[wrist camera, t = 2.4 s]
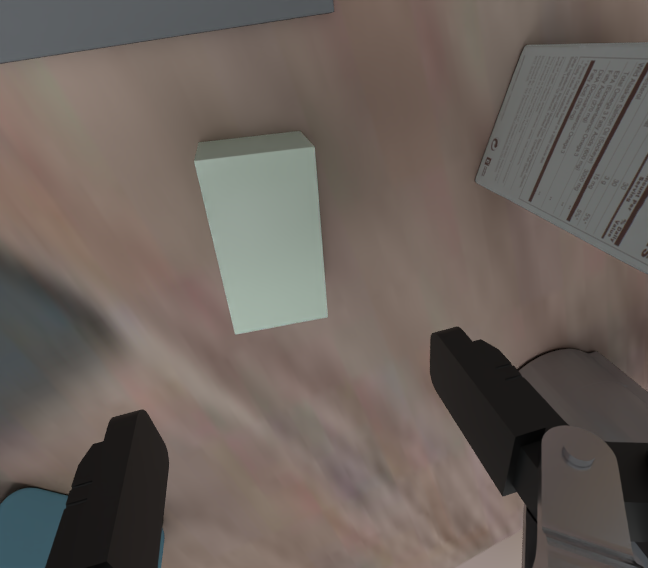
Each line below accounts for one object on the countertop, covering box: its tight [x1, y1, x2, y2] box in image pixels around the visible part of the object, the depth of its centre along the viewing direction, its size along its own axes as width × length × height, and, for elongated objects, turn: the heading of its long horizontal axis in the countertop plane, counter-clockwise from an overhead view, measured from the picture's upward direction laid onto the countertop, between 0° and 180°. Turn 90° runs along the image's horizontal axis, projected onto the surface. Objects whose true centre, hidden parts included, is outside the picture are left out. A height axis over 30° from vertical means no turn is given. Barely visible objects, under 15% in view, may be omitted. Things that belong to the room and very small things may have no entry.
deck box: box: [194, 131, 328, 334], centre depth 20 cm, size 5×9×4 cm, turn 4°
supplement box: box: [475, 42, 648, 274], centre depth 17 cm, size 7×7×13 cm
